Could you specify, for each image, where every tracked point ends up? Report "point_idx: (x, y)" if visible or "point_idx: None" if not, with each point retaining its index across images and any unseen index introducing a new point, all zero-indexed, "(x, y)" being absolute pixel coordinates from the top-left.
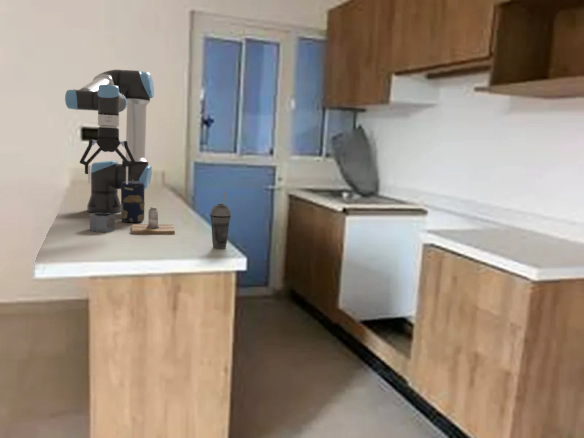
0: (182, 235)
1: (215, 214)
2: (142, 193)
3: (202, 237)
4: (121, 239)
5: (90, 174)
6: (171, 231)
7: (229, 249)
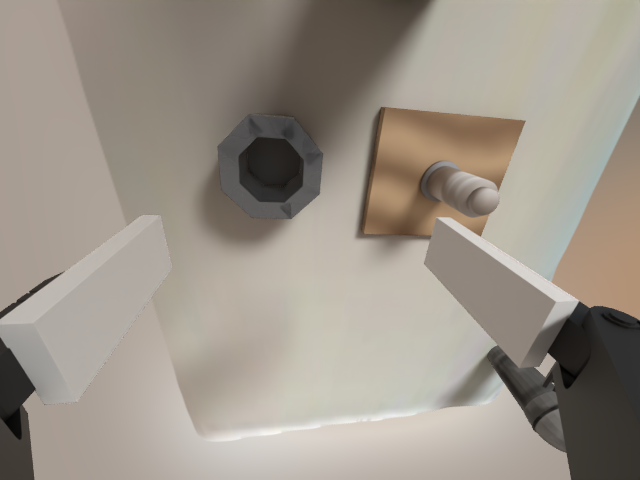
0: None
1: (540, 436)
2: None
3: None
4: (328, 291)
5: (127, 272)
6: None
7: None
